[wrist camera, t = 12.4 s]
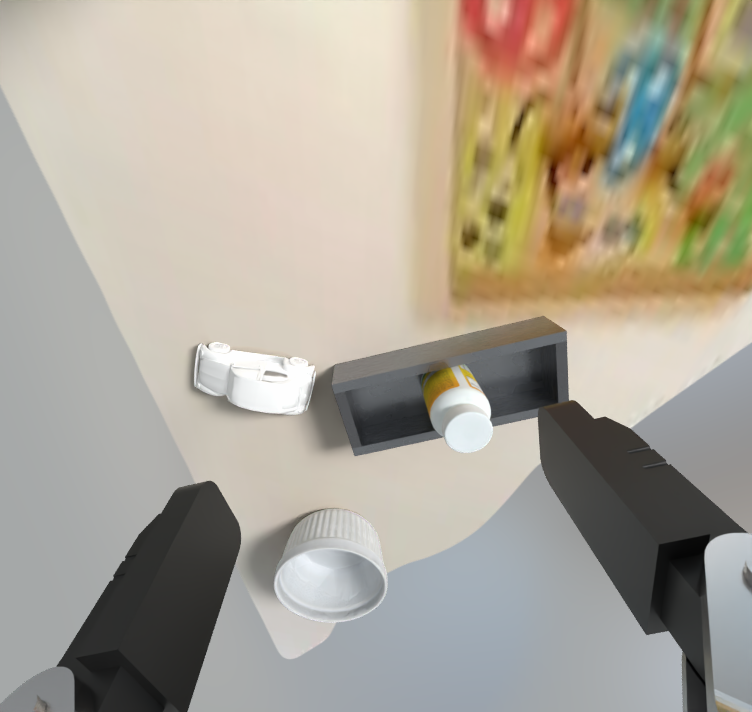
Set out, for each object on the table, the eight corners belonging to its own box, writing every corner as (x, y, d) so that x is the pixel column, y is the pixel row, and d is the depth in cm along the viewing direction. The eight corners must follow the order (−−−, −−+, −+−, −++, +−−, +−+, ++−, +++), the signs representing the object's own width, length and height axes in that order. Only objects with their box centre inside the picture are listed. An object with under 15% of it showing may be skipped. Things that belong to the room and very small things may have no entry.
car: (319, 360, 39) (314, 381, 35) (308, 409, 41) (301, 434, 37) (203, 332, 37) (182, 350, 33) (198, 385, 40) (178, 408, 35)
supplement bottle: (475, 358, 38) (509, 407, 29) (465, 404, 40) (494, 462, 31) (423, 355, 37) (442, 402, 29) (416, 400, 39) (431, 458, 31)
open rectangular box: (334, 364, 39) (331, 384, 35) (543, 316, 37) (566, 330, 33) (355, 430, 42) (354, 456, 38) (548, 388, 41) (569, 410, 36)
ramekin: (293, 574, 51) (283, 628, 45) (275, 503, 46) (261, 553, 40) (388, 566, 51) (391, 619, 45) (380, 494, 46) (383, 542, 40)
